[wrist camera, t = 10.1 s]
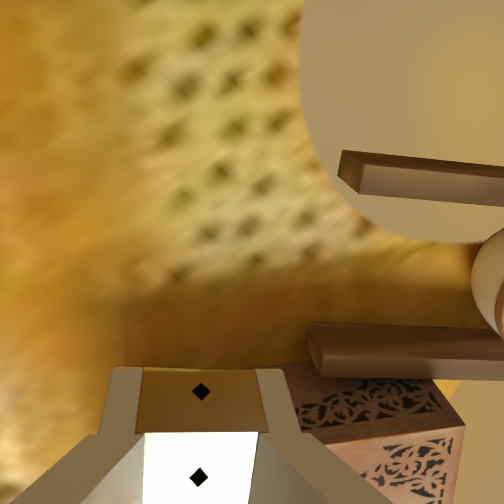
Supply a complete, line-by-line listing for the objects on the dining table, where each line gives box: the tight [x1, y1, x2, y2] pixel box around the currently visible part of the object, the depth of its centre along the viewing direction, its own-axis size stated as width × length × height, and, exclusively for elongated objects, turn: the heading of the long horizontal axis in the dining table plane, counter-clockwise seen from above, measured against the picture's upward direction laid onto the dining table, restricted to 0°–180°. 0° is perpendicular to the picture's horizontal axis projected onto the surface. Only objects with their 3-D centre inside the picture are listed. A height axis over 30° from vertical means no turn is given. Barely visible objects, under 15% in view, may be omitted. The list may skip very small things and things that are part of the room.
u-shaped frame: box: [305, 150, 504, 381], centre depth 39 cm, size 17×24×5 cm
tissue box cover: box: [240, 361, 466, 504], centre depth 42 cm, size 26×14×10 cm, turn 92°
